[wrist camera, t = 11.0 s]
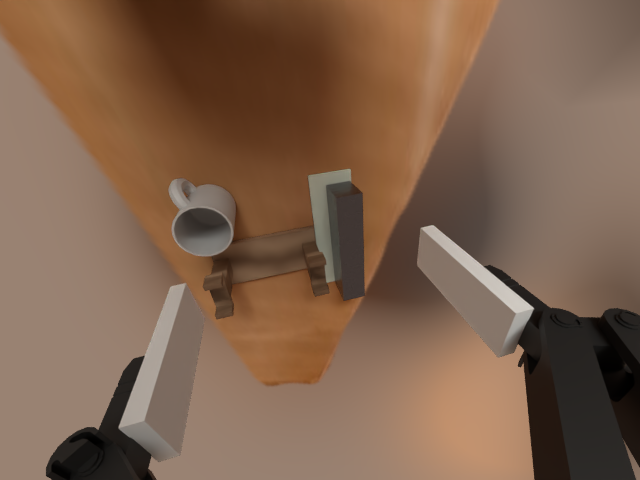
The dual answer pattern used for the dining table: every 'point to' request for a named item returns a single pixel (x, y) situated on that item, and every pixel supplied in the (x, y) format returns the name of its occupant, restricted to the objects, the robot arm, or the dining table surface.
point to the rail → (347, 238)
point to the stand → (265, 264)
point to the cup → (202, 217)
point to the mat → (324, 213)
